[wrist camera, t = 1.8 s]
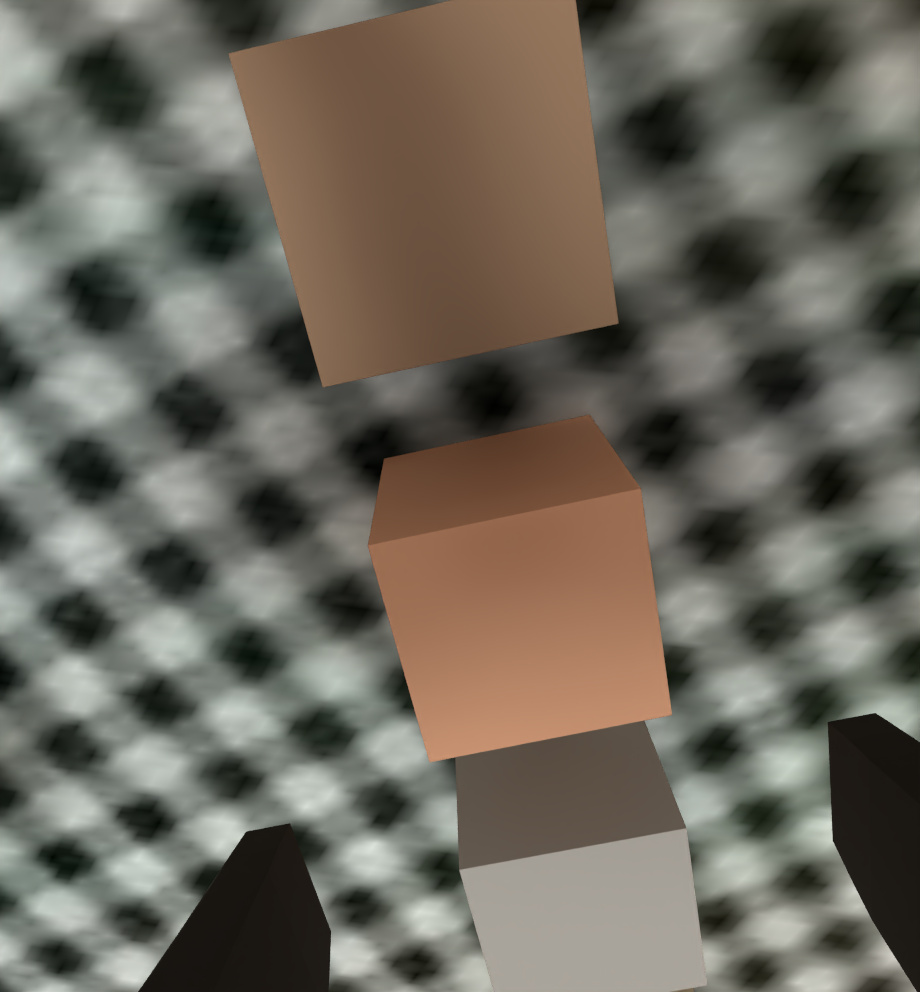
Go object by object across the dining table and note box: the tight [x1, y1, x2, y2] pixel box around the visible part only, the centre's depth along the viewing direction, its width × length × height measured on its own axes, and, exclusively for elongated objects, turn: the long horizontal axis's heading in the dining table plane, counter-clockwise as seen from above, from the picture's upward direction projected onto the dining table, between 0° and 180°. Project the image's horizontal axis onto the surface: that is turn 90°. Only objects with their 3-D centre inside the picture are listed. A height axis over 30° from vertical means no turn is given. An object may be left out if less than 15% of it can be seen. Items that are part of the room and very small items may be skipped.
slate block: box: [455, 721, 707, 992], centre depth 20 cm, size 5×5×5 cm
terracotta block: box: [368, 415, 672, 762], centre depth 17 cm, size 5×5×5 cm
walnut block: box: [229, 0, 619, 387], centre depth 14 cm, size 5×5×5 cm
